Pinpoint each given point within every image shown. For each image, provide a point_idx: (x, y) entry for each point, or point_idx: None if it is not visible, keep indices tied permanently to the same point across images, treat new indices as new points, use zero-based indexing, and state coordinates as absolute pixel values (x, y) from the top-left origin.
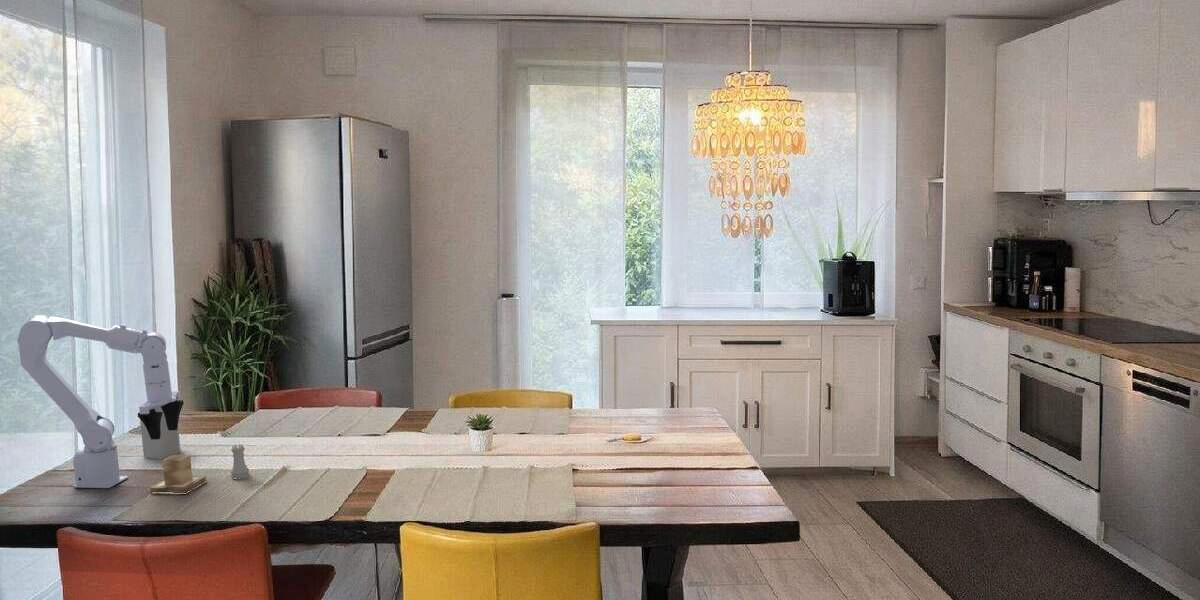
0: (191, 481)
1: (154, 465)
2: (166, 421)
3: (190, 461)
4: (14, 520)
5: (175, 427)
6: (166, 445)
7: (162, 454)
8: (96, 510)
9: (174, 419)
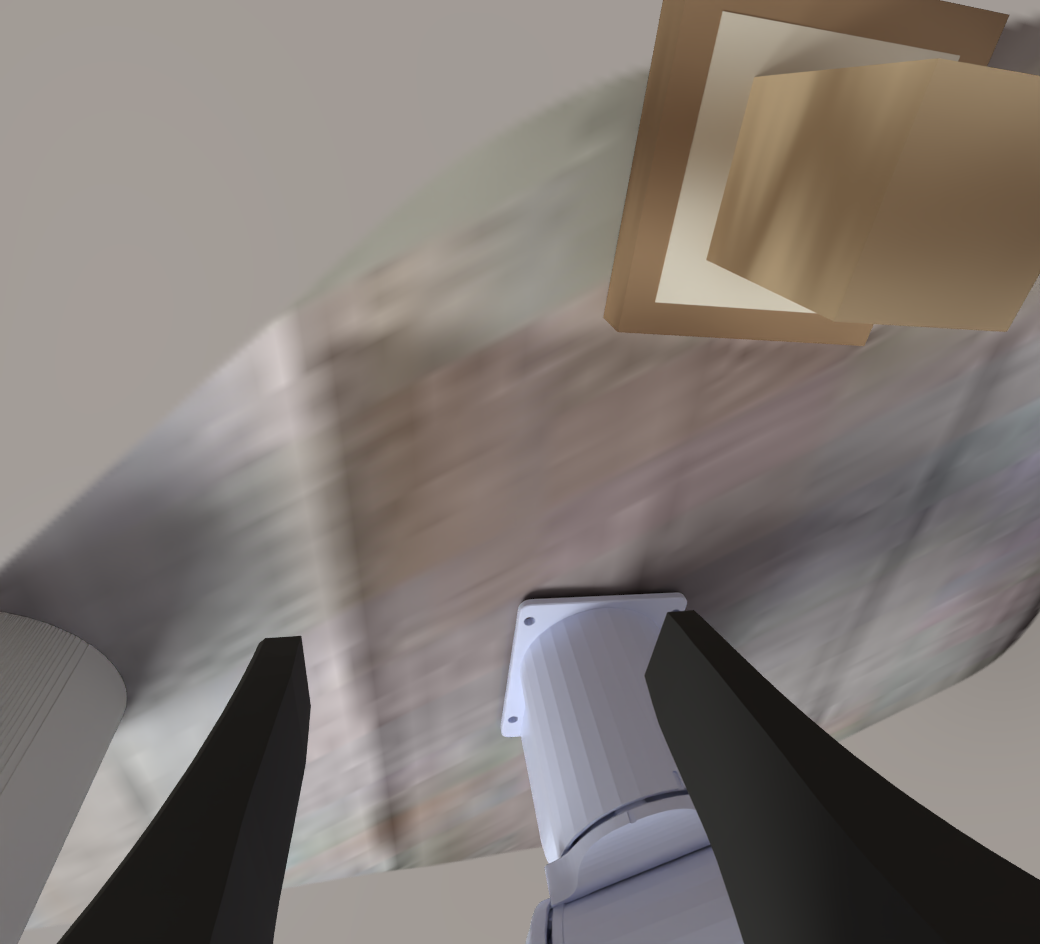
0: (833, 46)
1: (263, 600)
2: (289, 843)
3: (881, 64)
4: (960, 674)
5: (295, 672)
6: (9, 695)
7: (75, 658)
8: (995, 473)
9: (265, 802)
